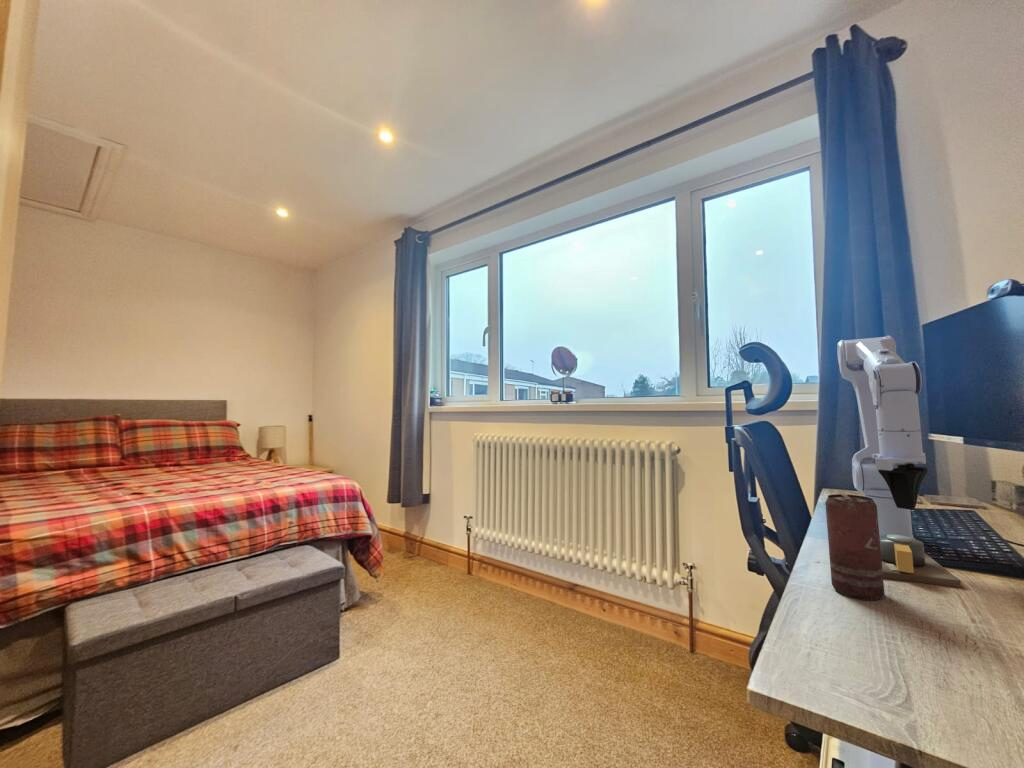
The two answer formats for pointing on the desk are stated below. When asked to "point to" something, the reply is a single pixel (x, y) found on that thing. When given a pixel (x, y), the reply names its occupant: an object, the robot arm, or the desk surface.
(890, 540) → the toy saucepan
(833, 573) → the can
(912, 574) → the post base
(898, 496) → the robot arm
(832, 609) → the desk surface
